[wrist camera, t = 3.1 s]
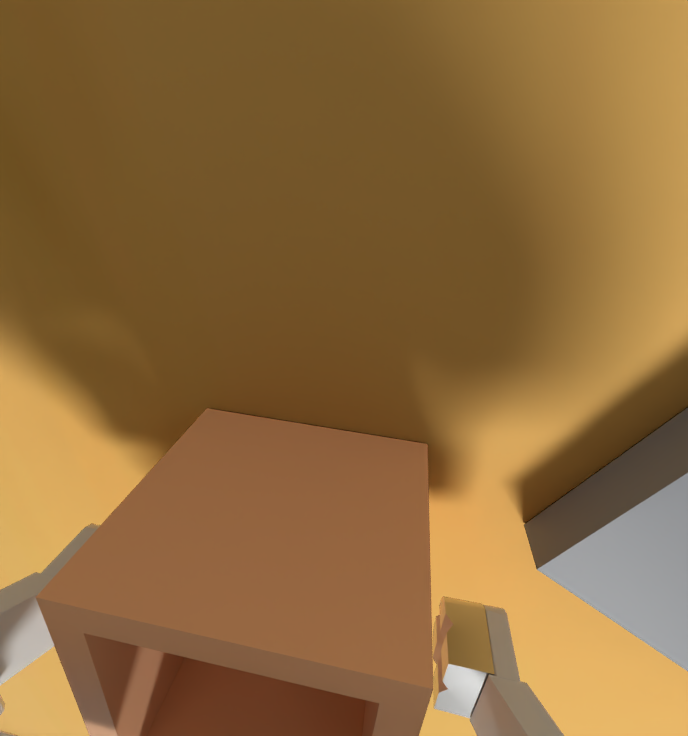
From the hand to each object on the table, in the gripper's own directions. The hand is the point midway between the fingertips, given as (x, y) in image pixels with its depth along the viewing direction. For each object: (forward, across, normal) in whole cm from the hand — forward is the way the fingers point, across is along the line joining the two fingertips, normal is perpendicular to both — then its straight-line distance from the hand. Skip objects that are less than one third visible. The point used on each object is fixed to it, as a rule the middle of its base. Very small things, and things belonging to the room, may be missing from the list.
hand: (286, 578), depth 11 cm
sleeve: (+2, 0, 0) cm, 2 cm away
